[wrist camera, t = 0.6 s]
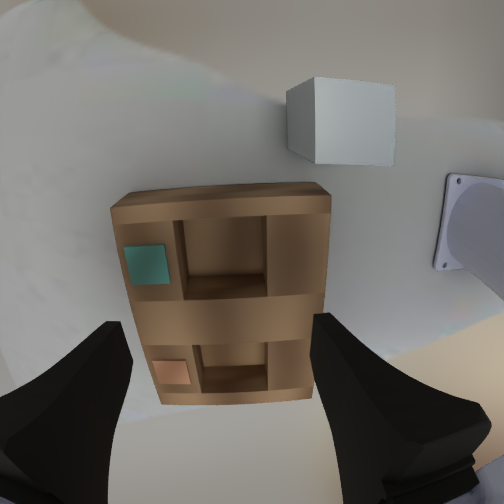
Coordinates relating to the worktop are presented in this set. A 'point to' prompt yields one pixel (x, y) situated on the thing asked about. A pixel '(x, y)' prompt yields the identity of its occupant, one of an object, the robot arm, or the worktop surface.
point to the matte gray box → (342, 121)
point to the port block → (226, 287)
